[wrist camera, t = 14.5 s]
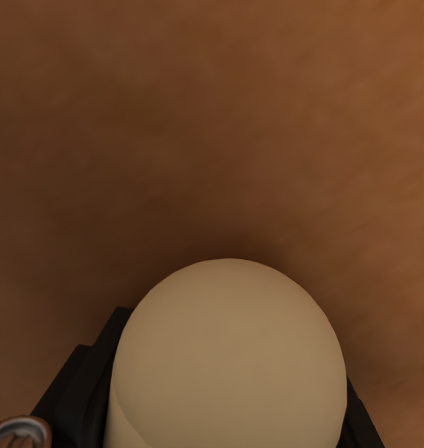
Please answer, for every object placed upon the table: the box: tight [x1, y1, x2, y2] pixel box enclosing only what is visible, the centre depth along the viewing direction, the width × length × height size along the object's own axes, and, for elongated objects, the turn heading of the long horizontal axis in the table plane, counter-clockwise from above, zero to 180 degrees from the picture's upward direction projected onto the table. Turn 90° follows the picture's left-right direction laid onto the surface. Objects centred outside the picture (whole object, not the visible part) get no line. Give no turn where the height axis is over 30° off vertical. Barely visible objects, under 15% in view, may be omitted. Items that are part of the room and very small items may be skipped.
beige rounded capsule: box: [102, 258, 347, 448], centre depth 8 cm, size 9×5×5 cm, turn 169°
